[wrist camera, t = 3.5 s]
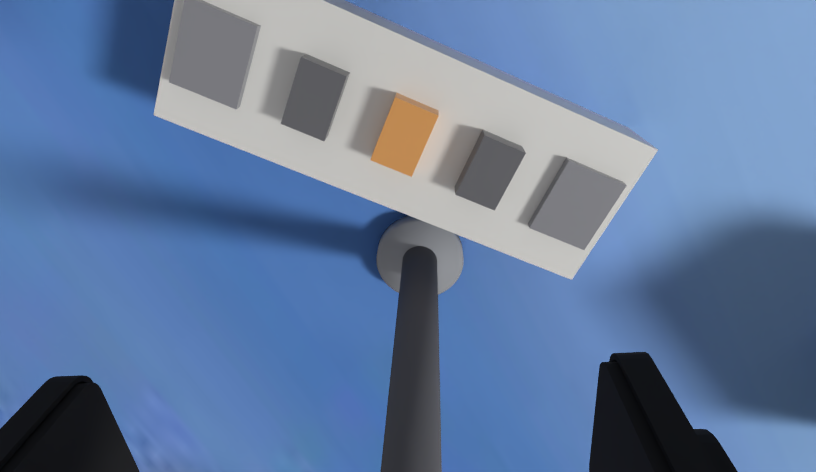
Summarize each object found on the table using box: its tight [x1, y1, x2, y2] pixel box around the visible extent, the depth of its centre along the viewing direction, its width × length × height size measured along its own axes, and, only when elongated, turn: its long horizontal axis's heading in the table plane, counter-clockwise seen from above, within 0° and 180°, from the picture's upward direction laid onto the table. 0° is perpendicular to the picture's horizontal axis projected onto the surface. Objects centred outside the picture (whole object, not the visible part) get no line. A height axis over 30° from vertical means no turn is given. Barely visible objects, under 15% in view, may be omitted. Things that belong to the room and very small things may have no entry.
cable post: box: [377, 216, 463, 472], centre depth 26 cm, size 6×6×23 cm
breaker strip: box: [154, 0, 658, 280], centre depth 29 cm, size 9×26×6 cm, turn 68°
